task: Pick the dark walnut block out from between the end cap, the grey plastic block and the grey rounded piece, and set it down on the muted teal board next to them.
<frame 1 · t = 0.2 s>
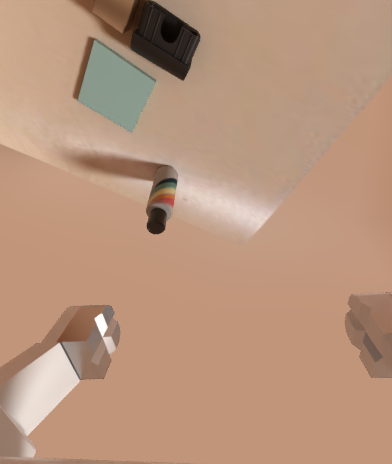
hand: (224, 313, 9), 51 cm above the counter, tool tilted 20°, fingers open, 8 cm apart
teal board: (116, 89, 51), on the counter
end cap: (168, 39, 45), on the counter
lotion bottle: (167, 174, 65), on the counter
walnut block: (121, 2, 41), on the counter
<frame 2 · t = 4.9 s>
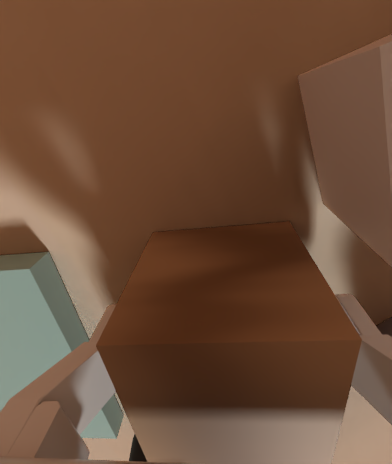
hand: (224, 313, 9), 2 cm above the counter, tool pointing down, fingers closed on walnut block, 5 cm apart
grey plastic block: (381, 119, 7), on the counter
walnut block: (223, 281, 10), on the counter, touching gripper
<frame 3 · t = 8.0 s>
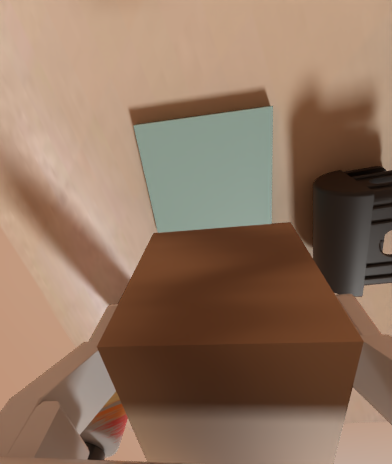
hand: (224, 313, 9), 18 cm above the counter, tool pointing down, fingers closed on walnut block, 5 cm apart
teal board: (208, 180, 25), on the counter
end cap: (338, 213, 26), on the counter
lotion bottle: (137, 312, 35), on the counter
walnut block: (224, 282, 10), point 16 cm above the counter, touching gripper
when the fingers open (5 cm above the counter, at t = 11.1 s): walnut block drops 2 cm, resting on teal board.
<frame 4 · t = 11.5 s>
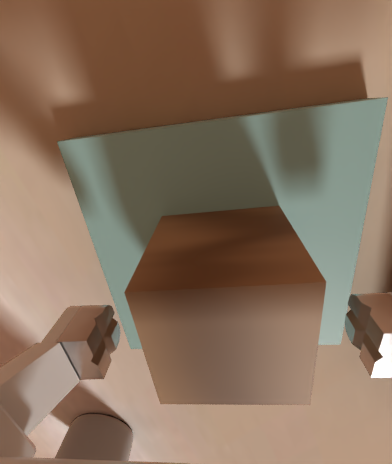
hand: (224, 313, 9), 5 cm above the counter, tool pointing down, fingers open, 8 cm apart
teal board: (221, 246, 13), on the counter
lotion bottle: (104, 427, 22), on the counter
walnut block: (223, 260, 12), point 1 cm above the counter, touching teal board
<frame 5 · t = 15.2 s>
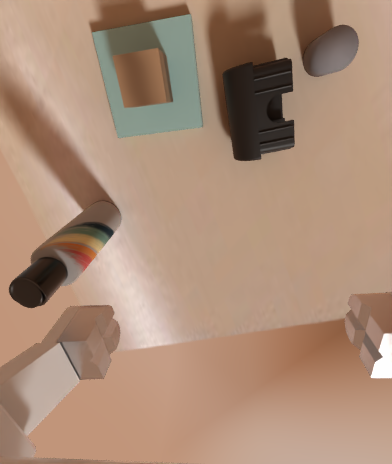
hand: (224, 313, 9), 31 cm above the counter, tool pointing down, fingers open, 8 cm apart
teal board: (152, 83, 33), on the counter
grey rounded piece: (320, 57, 30), on the counter
end cap: (253, 111, 34), on the counter
lotion bottle: (106, 215, 43), on the counter
walnut block: (151, 82, 32), point 1 cm above the counter, touching teal board
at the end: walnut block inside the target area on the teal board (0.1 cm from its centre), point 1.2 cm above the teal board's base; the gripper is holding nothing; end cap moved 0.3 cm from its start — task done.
